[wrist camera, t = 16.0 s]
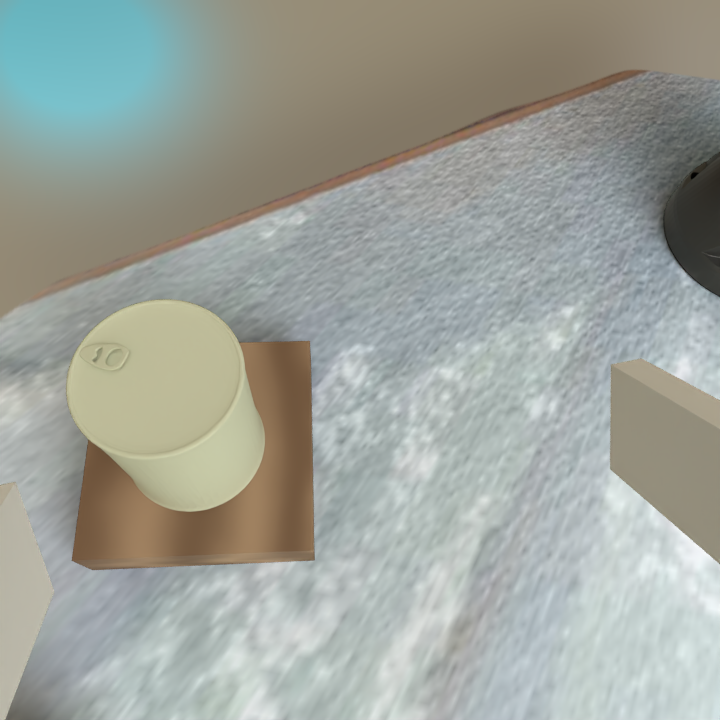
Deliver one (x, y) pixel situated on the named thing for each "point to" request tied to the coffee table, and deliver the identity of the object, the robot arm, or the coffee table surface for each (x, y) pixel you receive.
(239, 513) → the plinth
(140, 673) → the coffee table surface
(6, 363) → the coffee table surface
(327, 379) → the coffee table surface
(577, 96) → the coffee table surface
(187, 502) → the can
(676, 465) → the robot arm
